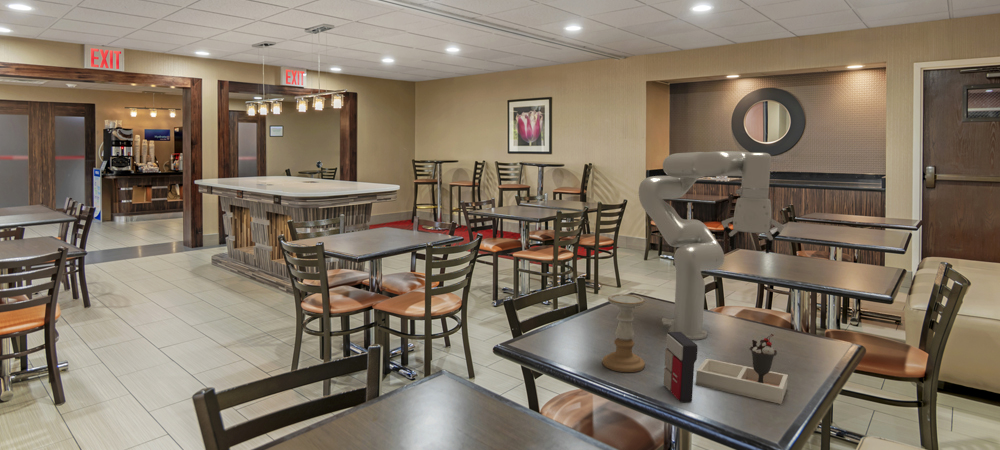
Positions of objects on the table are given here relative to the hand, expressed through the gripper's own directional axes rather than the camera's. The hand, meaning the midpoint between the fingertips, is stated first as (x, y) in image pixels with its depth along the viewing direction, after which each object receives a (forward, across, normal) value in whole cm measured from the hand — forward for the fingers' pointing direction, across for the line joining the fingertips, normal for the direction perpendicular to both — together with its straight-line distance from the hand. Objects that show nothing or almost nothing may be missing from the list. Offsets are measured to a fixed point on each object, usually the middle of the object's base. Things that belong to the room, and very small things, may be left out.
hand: (750, 250), depth 171 cm
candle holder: (+34, -28, -28) cm, 52 cm away
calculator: (+33, -9, -39) cm, 52 cm away
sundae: (+32, +9, -25) cm, 42 cm away
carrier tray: (+33, +4, -25) cm, 42 cm away
